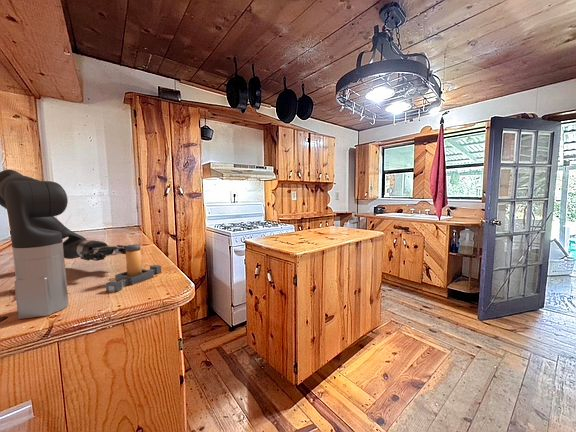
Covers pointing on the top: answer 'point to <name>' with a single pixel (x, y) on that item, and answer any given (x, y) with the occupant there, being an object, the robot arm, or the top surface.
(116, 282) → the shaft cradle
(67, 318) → the top surface
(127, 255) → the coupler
